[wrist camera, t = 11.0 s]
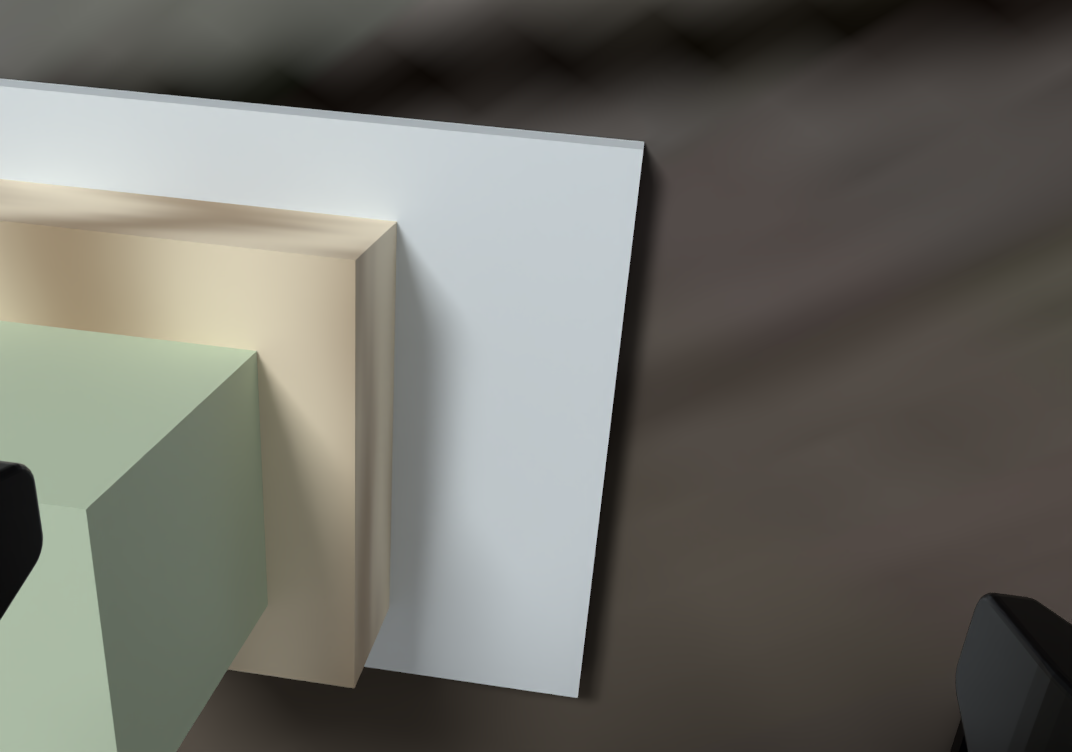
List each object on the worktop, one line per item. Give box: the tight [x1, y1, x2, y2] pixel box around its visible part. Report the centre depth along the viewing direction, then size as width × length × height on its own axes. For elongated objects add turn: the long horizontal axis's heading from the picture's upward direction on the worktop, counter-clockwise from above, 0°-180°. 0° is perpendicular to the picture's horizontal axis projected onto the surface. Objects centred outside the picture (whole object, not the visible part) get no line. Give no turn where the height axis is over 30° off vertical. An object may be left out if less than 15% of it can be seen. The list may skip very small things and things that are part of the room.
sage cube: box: [0, 321, 268, 752], centre depth 17 cm, size 6×6×6 cm
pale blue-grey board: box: [0, 79, 644, 698], centre depth 23 cm, size 20×14×1 cm
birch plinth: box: [0, 179, 397, 688], centre depth 21 cm, size 10×10×3 cm
